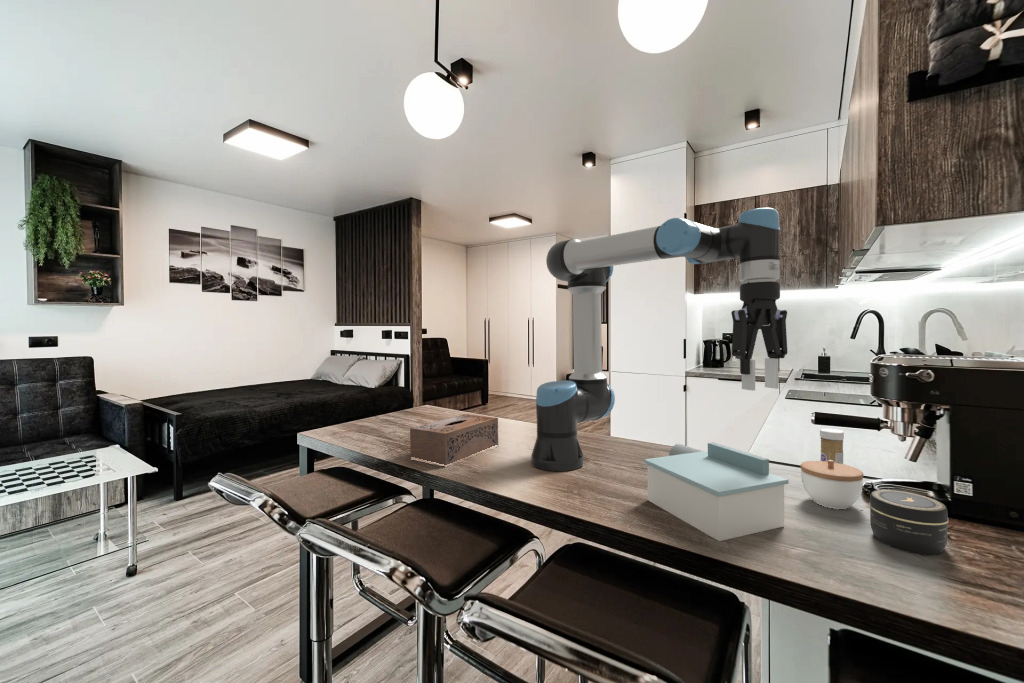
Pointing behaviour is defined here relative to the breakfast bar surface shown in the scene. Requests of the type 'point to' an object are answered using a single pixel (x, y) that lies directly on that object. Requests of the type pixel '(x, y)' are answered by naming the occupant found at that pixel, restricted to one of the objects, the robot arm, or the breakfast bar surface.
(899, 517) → the jar
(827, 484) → the lidded jar
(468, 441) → the tissue box cover
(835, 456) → the sprinkles bottle
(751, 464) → the lid
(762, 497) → the box
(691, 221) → the robot arm
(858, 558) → the breakfast bar surface
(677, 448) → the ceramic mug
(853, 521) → the breakfast bar surface
